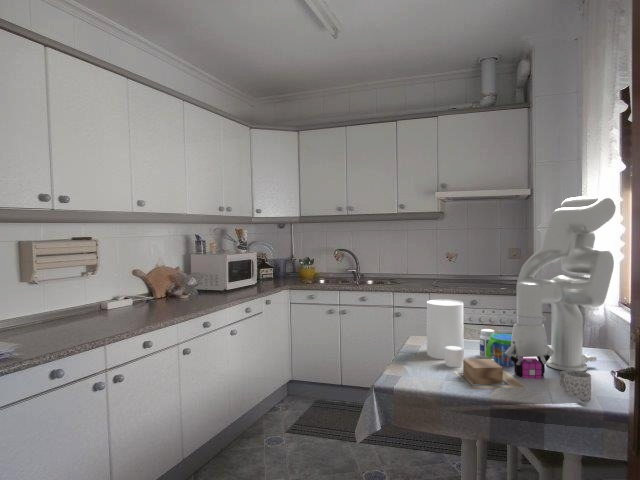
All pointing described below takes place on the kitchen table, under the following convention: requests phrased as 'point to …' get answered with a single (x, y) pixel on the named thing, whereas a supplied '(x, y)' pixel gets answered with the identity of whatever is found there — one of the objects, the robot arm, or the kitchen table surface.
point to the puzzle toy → (531, 368)
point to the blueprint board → (507, 383)
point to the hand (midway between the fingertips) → (529, 375)
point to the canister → (443, 326)
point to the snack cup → (500, 349)
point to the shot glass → (453, 356)
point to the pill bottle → (485, 342)
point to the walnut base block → (482, 371)
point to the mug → (576, 384)
